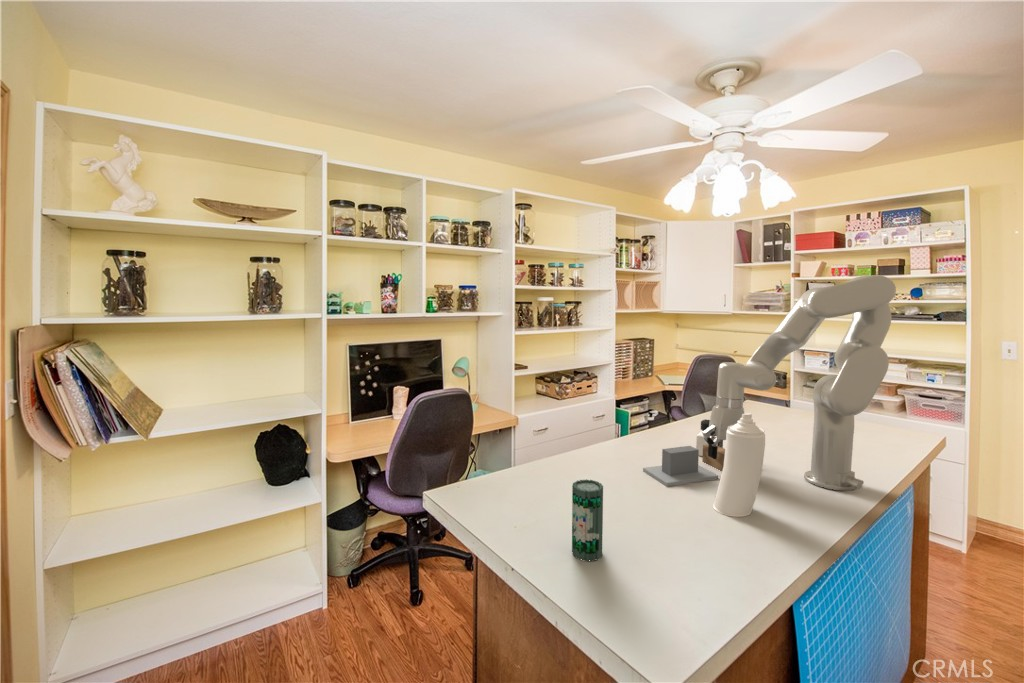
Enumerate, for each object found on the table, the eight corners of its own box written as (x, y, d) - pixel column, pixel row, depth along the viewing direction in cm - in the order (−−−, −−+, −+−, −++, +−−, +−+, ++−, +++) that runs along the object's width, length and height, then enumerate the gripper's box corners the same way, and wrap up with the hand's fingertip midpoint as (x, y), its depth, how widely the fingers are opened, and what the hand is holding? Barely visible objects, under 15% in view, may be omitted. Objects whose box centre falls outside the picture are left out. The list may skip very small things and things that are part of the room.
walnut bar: (755, 482, 133) (756, 462, 133) (744, 484, 132) (745, 464, 131) (712, 461, 150) (713, 443, 150) (702, 462, 149) (702, 444, 149)
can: (567, 554, 96) (567, 486, 95) (581, 542, 101) (582, 477, 99) (593, 564, 92) (593, 494, 91) (606, 551, 97) (607, 484, 96)
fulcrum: (718, 478, 135) (719, 452, 135) (666, 486, 130) (667, 459, 129) (691, 464, 147) (692, 440, 146) (643, 471, 142) (643, 446, 141)
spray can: (721, 494, 124) (724, 405, 122) (764, 506, 118) (769, 411, 115) (708, 510, 115) (712, 414, 113) (755, 523, 109) (760, 421, 106)
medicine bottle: (717, 459, 151) (719, 424, 150) (695, 455, 155) (696, 421, 154) (722, 453, 157) (724, 420, 155) (701, 449, 161) (702, 416, 160)
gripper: (742, 398, 145) (738, 450, 147) (697, 401, 140) (693, 454, 142) (761, 404, 138) (756, 458, 140) (714, 407, 133) (710, 463, 135)
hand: (725, 456), depth 141 cm, fingers open, 9 cm apart
